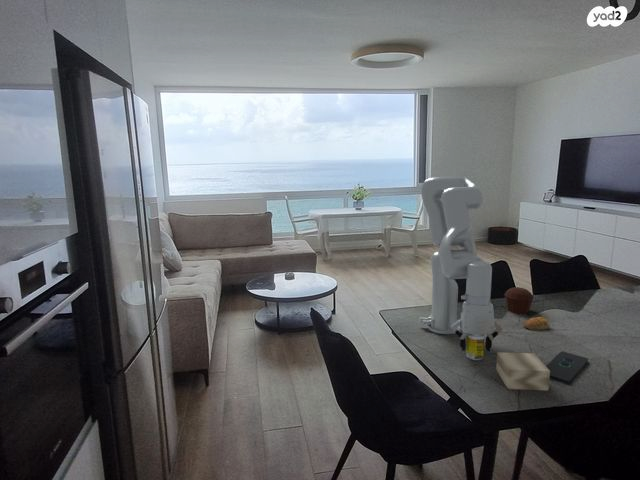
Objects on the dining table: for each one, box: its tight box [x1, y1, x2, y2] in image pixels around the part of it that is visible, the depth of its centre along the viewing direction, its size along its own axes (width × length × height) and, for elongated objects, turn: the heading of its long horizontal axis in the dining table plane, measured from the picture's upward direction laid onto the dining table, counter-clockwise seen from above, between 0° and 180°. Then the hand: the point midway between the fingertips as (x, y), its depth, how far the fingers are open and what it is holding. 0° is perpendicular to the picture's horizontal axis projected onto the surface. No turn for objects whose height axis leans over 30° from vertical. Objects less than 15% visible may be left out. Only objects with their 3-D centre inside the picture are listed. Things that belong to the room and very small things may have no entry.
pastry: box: [523, 316, 551, 331], centre depth 161 cm, size 9×7×4 cm
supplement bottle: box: [465, 334, 486, 361], centre depth 136 cm, size 6×6×10 cm
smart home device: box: [545, 350, 589, 385], centre depth 128 cm, size 8×2×20 cm
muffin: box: [503, 286, 535, 315], centre depth 179 cm, size 12×11×10 cm
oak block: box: [495, 351, 550, 392], centre depth 122 cm, size 11×11×6 cm
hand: (475, 349), depth 136 cm, fingers open, 7 cm apart
